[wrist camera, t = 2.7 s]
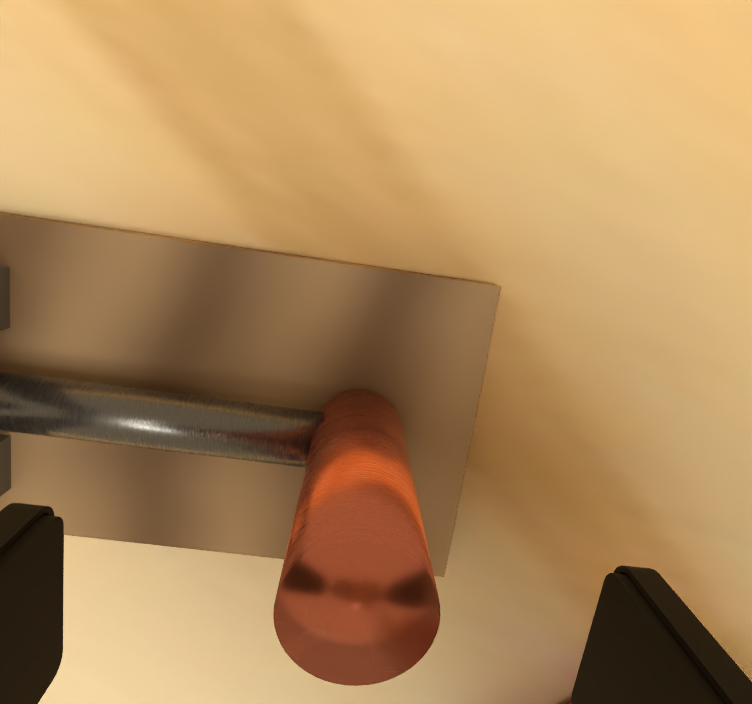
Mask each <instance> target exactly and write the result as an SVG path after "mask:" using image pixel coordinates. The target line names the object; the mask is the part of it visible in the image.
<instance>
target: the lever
mask: <svg viewBox="0 0 752 704" xmlns="http://www.w3.org/2000/svg"><path fill="white" fill-rule="evenodd" d="M0 431H7V432H16V433H24V434H32V435H40V436H49V437H57V438H65V439H74V440H82V441H90V442H98V443H107V444H115V445H123V446H131V447H140V448H148V449H156V450H164V451H173V452H181V453H189V454H197V455H206V456H214V457H222V458H230V459H239V460H247V461H255V462H263V463H272V464H280V465H288V466H296V467H305V471H304V476H303V480H302V484H301V489H300V493H299V498H298V502H297V507H296V511H295V515H294V520H293V524H292V529H291V533H290V538H289V542H288V547H287V551H286V555H285V560H284V564H283V569H282V573H281V578H280V582H279V586H278V591H277V595H276V600H275V605H274V625H275V629H276V633H277V636H278V639H279V641H280V643H281V645H282V647H283V648H284V650H285V652H286V653H287V654H288V655H289V657H290V658H291V659H292V660H293V661H294V662H295V663H296V664H297V665H298V666H299V667H301V668H302V669H304V670H305V671H306V672H308V673H310V674H312V675H314V676H315V677H318V678H320V679H323V680H325V681H328V682H332V683H336V684H342V685H355V686H358V685H369V684H375V683H380V682H383V681H386V680H389V679H391V678H394V677H396V676H398V675H400V674H402V673H404V672H405V671H407V670H408V669H410V668H411V667H412V666H414V665H415V664H416V663H417V662H418V661H419V660H420V659H421V658H422V657H423V656H424V655H425V653H426V652H427V651H428V649H429V648H430V646H431V645H432V643H433V641H434V639H435V636H436V634H437V630H438V627H439V621H440V604H439V598H438V593H437V589H436V584H435V579H434V574H433V570H432V565H431V560H430V555H429V551H428V546H427V541H426V536H425V532H424V527H423V522H422V517H421V513H420V508H419V503H418V498H417V494H416V489H415V484H414V479H413V475H412V470H411V465H410V460H409V456H408V451H407V446H406V441H405V437H404V432H403V427H402V422H401V419H400V416H399V414H398V412H397V410H396V408H395V407H394V405H393V404H392V403H391V402H390V401H389V400H388V399H386V398H385V397H383V396H382V395H380V394H378V393H376V392H373V391H369V390H364V389H353V390H348V391H344V392H341V393H339V394H337V395H335V396H334V397H332V398H331V399H330V400H328V401H327V402H326V403H325V405H324V406H323V407H322V408H321V410H320V412H319V411H311V410H303V409H295V408H287V407H280V406H272V405H264V404H256V403H248V402H240V401H233V400H225V399H217V398H209V397H201V396H193V395H186V394H178V393H170V392H162V391H154V390H146V389H139V388H131V387H123V386H115V385H107V384H99V383H92V382H84V381H76V380H68V379H60V378H52V377H45V376H37V375H29V374H21V373H13V372H5V371H0Z"/></svg>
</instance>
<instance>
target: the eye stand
mask: <svg viewBox="0 0 752 704" xmlns="http://www.w3.org/2000/svg"><path fill="white" fill-rule="evenodd" d="M500 290H501V287H500V286H498V285H495V284H492V283H485V282H478V281H471V280H464V279H457V278H450V277H443V276H436V275H429V274H423V273H416V272H409V271H402V270H395V269H388V268H381V267H374V266H367V265H360V264H353V263H347V262H340V261H333V260H326V259H319V258H312V257H305V256H298V255H291V254H284V253H278V252H271V251H264V250H257V249H250V248H243V247H236V246H229V245H222V244H215V243H208V242H202V241H195V240H188V239H181V238H174V237H167V236H160V235H153V234H146V233H139V232H133V231H126V230H119V229H112V228H105V227H98V226H91V225H84V224H77V223H70V222H63V221H57V220H50V219H43V218H36V217H29V216H22V215H15V214H8V213H1V212H0V371H5V372H13V373H21V374H29V375H37V376H45V377H52V378H60V379H68V380H76V381H84V382H92V383H99V384H107V385H115V386H123V387H131V388H139V389H146V390H154V391H162V392H170V393H178V394H186V395H193V396H201V397H209V398H217V399H225V400H233V401H240V402H248V403H256V404H264V405H272V406H280V407H287V408H295V409H303V410H311V411H319V412H320V410H321V408H322V407H323V406H324V405H325V403H326V402H327V401H328V400H330V399H331V398H332V397H334V396H335V395H337V394H339V393H341V392H344V391H348V390H353V389H364V390H369V391H373V392H376V393H378V394H380V395H382V396H383V397H385V398H386V399H388V400H389V401H390V402H391V403H392V404H393V405H394V407H395V408H396V410H397V412H398V414H399V416H400V419H401V422H402V427H403V432H404V437H405V441H406V446H407V451H408V456H409V460H410V465H411V470H412V475H413V479H414V484H415V489H416V494H417V498H418V503H419V508H420V513H421V517H422V522H423V527H424V532H425V536H426V541H427V546H428V551H429V555H430V560H431V565H432V570H433V574H434V576H442V577H444V574H445V569H446V564H447V559H448V554H449V549H450V544H451V538H452V533H453V528H454V523H455V518H456V513H457V508H458V503H459V498H460V493H461V488H462V483H463V478H464V472H465V467H466V462H467V457H468V452H469V447H470V442H471V437H472V432H473V427H474V422H475V417H476V412H477V406H478V401H479V396H480V391H481V386H482V381H483V376H484V371H485V366H486V361H487V356H488V351H489V346H490V340H491V335H492V330H493V325H494V320H495V315H496V310H497V305H498V300H499V295H500ZM304 471H305V467H296V466H288V465H280V464H272V463H263V462H255V461H247V460H239V459H230V458H222V457H214V456H206V455H197V454H189V453H181V452H173V451H164V450H156V449H148V448H140V447H131V446H123V445H115V444H107V443H98V442H90V441H82V440H74V439H65V438H57V437H49V436H40V435H32V434H24V433H16V432H7V431H0V511H1V510H2V509H3V508H5V507H6V506H7V505H9V504H11V503H23V504H32V505H42V506H50V507H51V508H52V509H53V511H54V516H58V517H61V518H62V520H63V524H64V535H71V536H80V537H89V538H98V539H107V540H116V541H125V542H135V543H144V544H153V545H162V546H171V547H180V548H189V549H198V550H207V551H216V552H225V553H234V554H243V555H252V556H261V557H270V558H279V559H285V555H286V551H287V547H288V542H289V538H290V533H291V529H292V524H293V520H294V515H295V511H296V507H297V502H298V498H299V493H300V489H301V484H302V480H303V476H304Z"/></svg>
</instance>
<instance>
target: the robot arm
mask: <svg viewBox="0 0 752 704" xmlns="http://www.w3.org/2000/svg"><path fill="white" fill-rule="evenodd" d="M63 554H64V524H63V520H62V518H61V517H58V516H54V511H53V509H52V508H51V507H50V506H42V505H32V504H23V503H11V504H9V505H7V506H6V507H5V508H3V509H2V510H1V511H0V704H38V702H39V701H40V699H41V698H42V696H43V695H44V693H45V691H46V690H47V688H48V687H49V685H50V684H51V682H52V681H53V679H54V677H55V675H56V673H57V671H58V669H59V666H60V663H61V659H62V652H63ZM571 704H752V682H751V681H750V680H749V678H748V677H747V676H746V675H745V674H744V673H743V671H742V670H741V669H740V668H739V667H738V666H737V664H736V663H735V662H734V661H733V660H732V658H731V657H730V656H729V655H728V654H727V653H726V651H725V650H724V649H723V648H722V647H721V646H720V644H719V643H718V642H717V641H716V640H715V639H714V637H713V636H712V635H711V634H710V633H709V632H708V630H707V629H706V628H705V627H704V626H703V625H702V623H701V622H700V621H699V620H698V619H697V618H696V616H695V615H694V614H693V613H692V612H691V611H690V609H689V608H688V607H687V606H686V605H685V604H684V602H683V601H682V600H681V599H680V598H679V597H678V595H677V594H676V593H675V592H674V591H673V590H672V588H671V587H670V586H669V585H668V584H667V583H666V581H665V580H664V579H663V578H662V577H661V575H660V574H659V573H658V572H656V571H655V570H653V569H650V568H640V567H631V566H619V567H617V568H616V569H615V571H614V573H610V574H608V575H607V576H606V578H605V580H604V583H603V587H602V590H601V594H600V597H599V601H598V604H597V608H596V611H595V615H594V618H593V622H592V625H591V629H590V632H589V636H588V639H587V643H586V646H585V650H584V653H583V657H582V660H581V664H580V667H579V671H578V674H577V678H576V681H575V685H574V688H573V692H572V697H571Z"/></svg>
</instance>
